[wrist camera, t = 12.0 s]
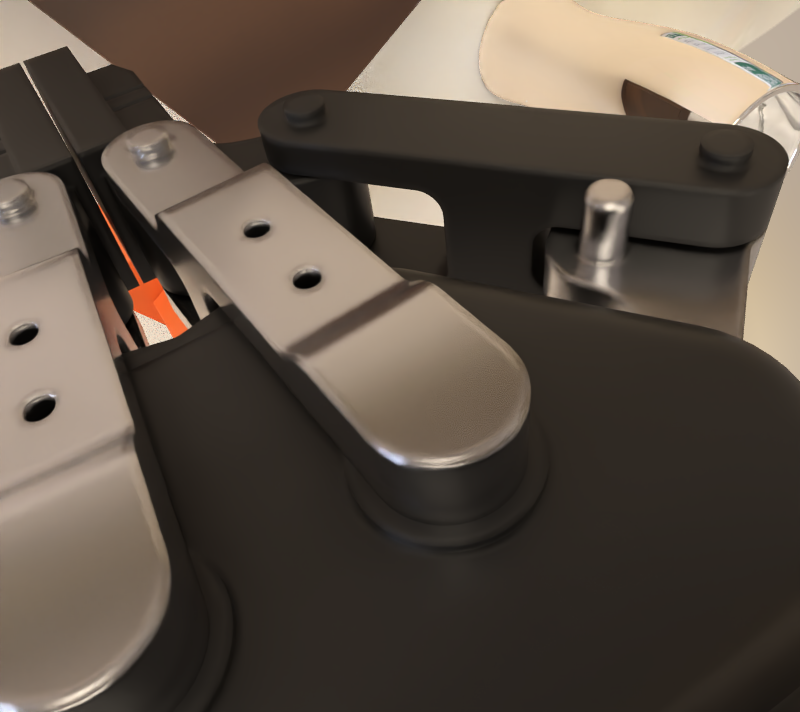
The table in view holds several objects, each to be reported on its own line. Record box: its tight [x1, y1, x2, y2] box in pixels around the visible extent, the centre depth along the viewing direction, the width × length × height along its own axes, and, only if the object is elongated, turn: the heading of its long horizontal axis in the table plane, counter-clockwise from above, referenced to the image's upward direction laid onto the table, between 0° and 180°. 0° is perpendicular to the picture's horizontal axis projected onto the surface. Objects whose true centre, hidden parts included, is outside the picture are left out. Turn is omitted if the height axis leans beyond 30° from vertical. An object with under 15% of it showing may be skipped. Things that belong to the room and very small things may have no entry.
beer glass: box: [479, 0, 800, 178], centre depth 34 cm, size 7×7×15 cm
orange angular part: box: [99, 206, 188, 338], centre depth 31 cm, size 6×3×8 cm, turn 39°
